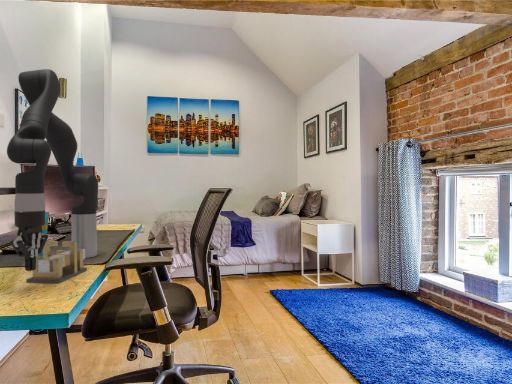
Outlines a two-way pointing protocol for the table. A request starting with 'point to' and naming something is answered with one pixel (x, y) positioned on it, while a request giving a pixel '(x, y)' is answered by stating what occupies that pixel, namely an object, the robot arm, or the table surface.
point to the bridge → (64, 244)
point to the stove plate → (65, 276)
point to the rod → (48, 262)
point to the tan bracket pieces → (57, 266)
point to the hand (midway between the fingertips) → (30, 270)
